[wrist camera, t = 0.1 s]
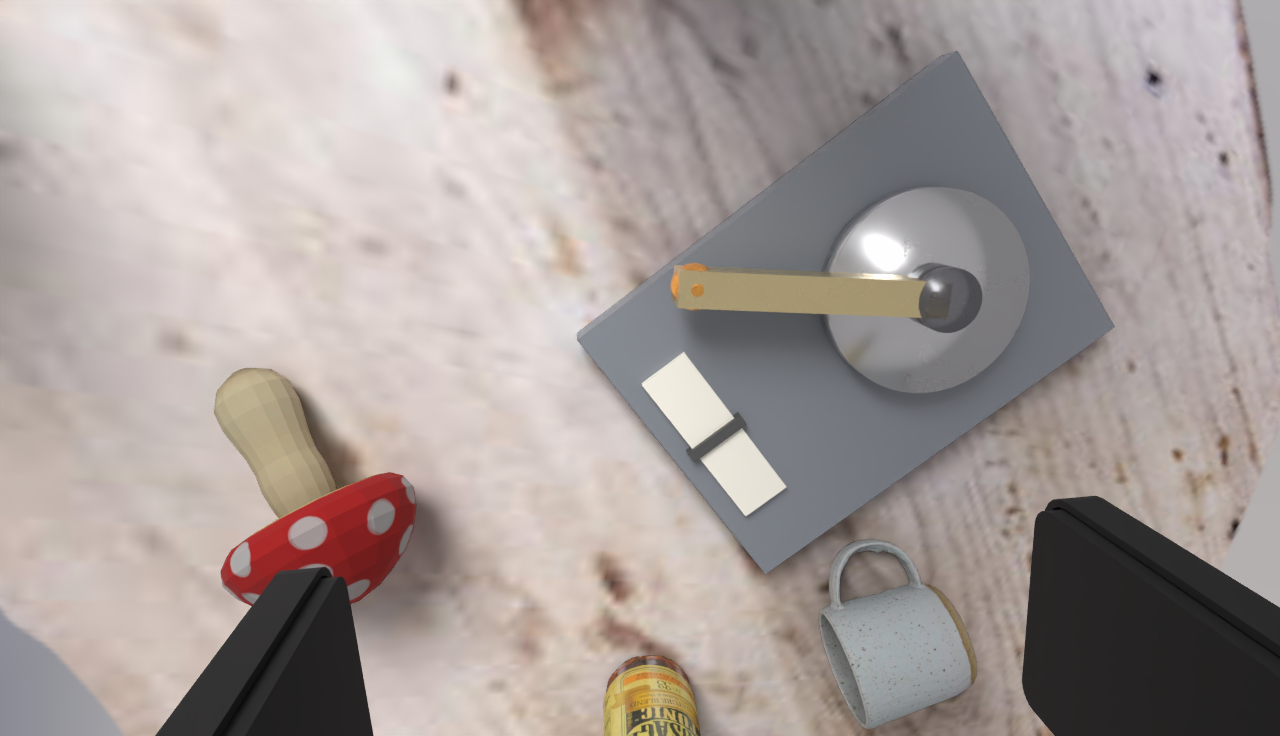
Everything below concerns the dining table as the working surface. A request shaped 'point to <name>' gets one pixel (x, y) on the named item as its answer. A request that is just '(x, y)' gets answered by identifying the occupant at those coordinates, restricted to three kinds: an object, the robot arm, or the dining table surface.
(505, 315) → the dining table surface
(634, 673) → the sauce bottle
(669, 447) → the stand
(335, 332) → the dining table surface
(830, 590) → the ceramic mug
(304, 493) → the decorative mushroom
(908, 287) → the dial lever
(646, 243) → the dining table surface
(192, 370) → the dining table surface
